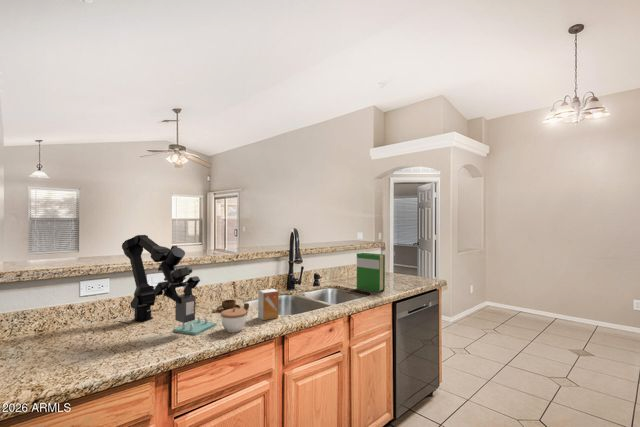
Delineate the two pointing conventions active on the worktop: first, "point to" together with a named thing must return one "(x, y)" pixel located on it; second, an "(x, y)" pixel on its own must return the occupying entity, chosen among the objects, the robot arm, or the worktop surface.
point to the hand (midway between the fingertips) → (186, 301)
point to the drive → (185, 308)
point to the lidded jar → (233, 319)
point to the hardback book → (371, 272)
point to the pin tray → (195, 326)
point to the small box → (268, 304)
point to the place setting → (230, 305)
